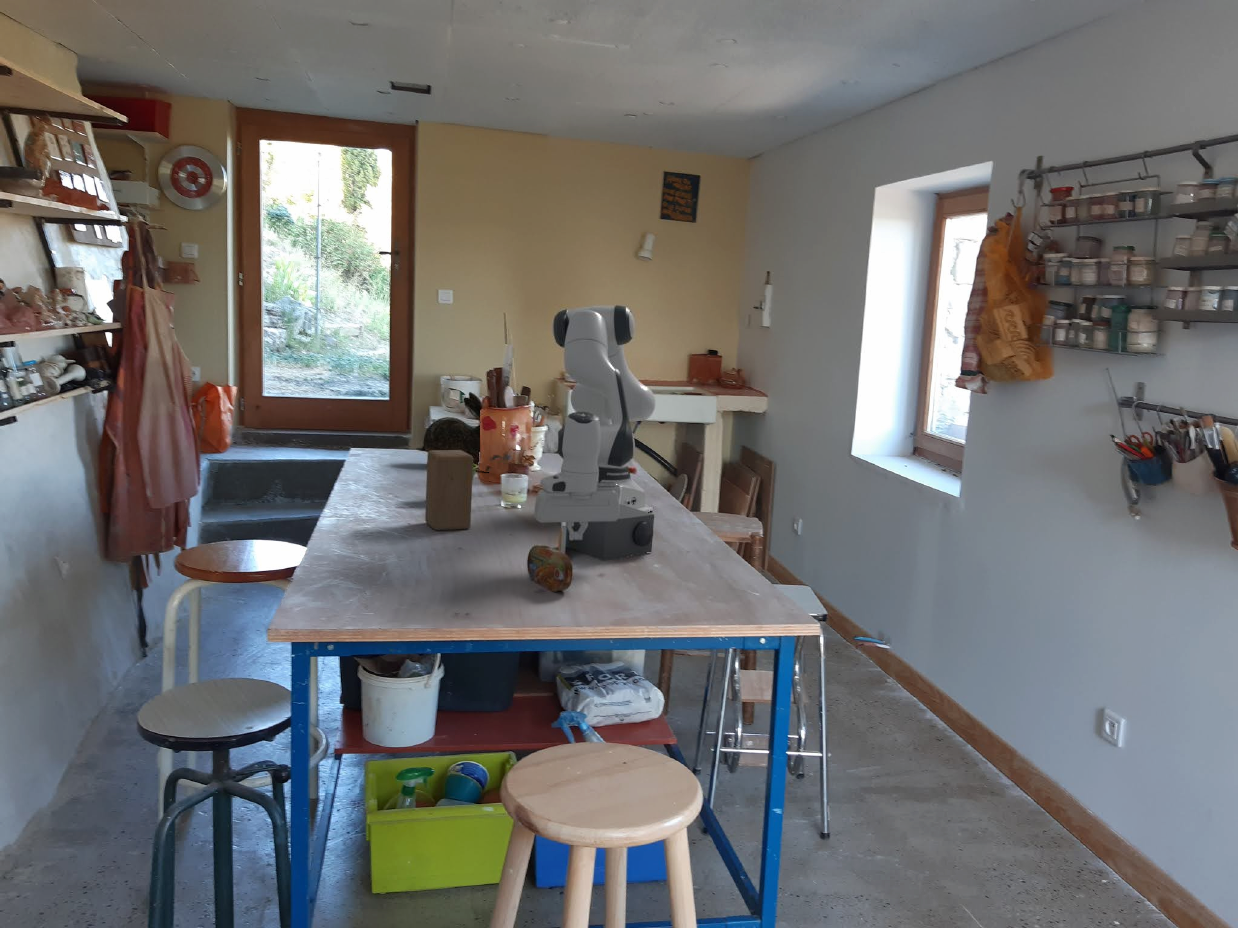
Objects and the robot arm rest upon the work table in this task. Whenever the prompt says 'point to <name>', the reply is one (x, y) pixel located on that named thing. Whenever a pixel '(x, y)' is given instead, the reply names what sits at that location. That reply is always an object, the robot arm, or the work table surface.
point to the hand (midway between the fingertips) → (575, 539)
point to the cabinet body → (616, 535)
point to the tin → (549, 568)
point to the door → (562, 538)
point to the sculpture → (456, 432)
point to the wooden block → (449, 489)
